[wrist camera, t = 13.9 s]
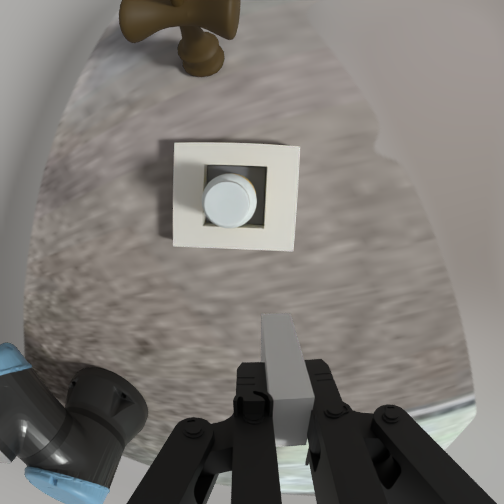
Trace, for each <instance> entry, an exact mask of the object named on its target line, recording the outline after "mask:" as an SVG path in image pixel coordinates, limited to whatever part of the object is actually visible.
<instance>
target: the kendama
mask: <svg viewBox="0 0 504 504" xmlns="http://www.w3.org/2000/svg"><path fill="white" fill-rule="evenodd" d="M239 15H240V0H122V2H121V4H120V10H119V24H120V28H121V31H122V33H123V35H124V36H125V38H126V39H127V40H128V41H129V42H131V43H136V42H139V41H142V40H144V39H146V38H147V37H149V36H151V35H152V34H154V33H156V32H157V31H159V30H162V29H165V28H169V27H176V26H180V30H181V34H182V39H181V40H180V42H179V45H178V55H179V56H180V58H181V59H182V60H183V67H184V69H185V71H186V72H187V73H189V74H191V75H192V76H197V77H205V76H211V75H213V74H215V73H217V72H218V71H219V70H220V68H221V67H222V65H223V62H224V51H223V50H222V48H221V47H220V46H219V42H218V39H217V38H216V36H215V35H213V34H211V33H209V32H204V31H203V30H202V29H201V28H200V27H202V28H204V29H207V30H209V31H211V32H213V33H215V34H217V35H219V36H221V37H223V38H225V39H228V40H232V39H233V38H234V37H235V35H236V32H237V28H238V23H239Z"/></svg>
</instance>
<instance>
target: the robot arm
mask: <svg viewBox="0 0 504 504" xmlns="http://www.w3.org/2000/svg"><path fill="white" fill-rule="evenodd" d="M233 407H234V413H233V415H232V416H231V417H230V418H228V419H226V420H225V421H222V422H218V423H213V424H210V423H209V422H208V421H207V420H204V419H202V418H195V417H192V418H186V419H184V420H182V421H180V422H179V423H178V424H177V425H176V426H175V428H174V429H173V431H172V433H171V434H170V436H169V437H168V439H167V441H166V442H165V444H164V445H163V447H162V449H161V450H160V452H159V454H158V455H157V457H156V458H155V460H154V461H153V463H152V465H151V466H150V468H149V469H148V471H147V473H146V474H145V476H144V477H143V479H142V481H141V482H140V484H139V485H138V487H137V488H136V490H135V491H134V493H133V495H132V496H131V498H130V499H129V501H128V503H127V504H206V503H207V501H208V499H209V496H210V494H211V492H212V489H213V487H214V484H215V482H216V480H217V477H218V475H219V473H223V472H227V471H232V492H231V504H282V502H281V491H280V482H279V472H278V462H277V453H276V447H282V446H297V445H306V442H307V438H308V443H309V449H308V453H307V458H306V464H305V465H308V464H310V469H311V475H312V480H313V485H314V490H315V496H316V501H317V504H497V503H496V502H495V501H494V500H493V499H492V498H491V497H490V496H488V494H487V493H486V492H485V491H484V490H483V489H482V488H481V487H480V486H479V485H478V484H477V483H476V482H475V481H474V480H473V479H472V478H471V477H470V476H469V475H468V474H467V473H466V472H465V471H464V470H463V469H462V468H461V467H460V466H459V465H458V464H457V463H456V462H455V461H454V460H453V459H452V458H451V457H450V456H449V455H448V454H447V453H446V452H445V451H444V450H443V449H442V448H441V447H440V446H439V445H438V444H437V443H436V442H435V441H434V440H433V439H432V438H431V437H430V436H429V435H428V434H427V433H426V432H425V431H424V430H423V429H422V428H421V427H420V426H419V425H418V424H417V423H416V422H415V421H414V420H413V418H412V417H411V416H410V415H409V414H408V413H407V412H406V411H405V410H403V409H402V408H400V407H398V406H395V405H383V406H380V407H379V408H377V409H376V411H375V412H374V414H371V413H360V412H356V411H353V410H352V409H351V408H350V406H349V405H348V404H346V403H344V402H343V401H342V399H341V397H340V394H339V391H338V389H337V386H336V384H335V381H334V380H333V376H332V374H331V371H330V368H329V366H328V365H327V364H326V363H325V362H324V361H323V360H322V359H314V360H304V358H303V355H302V351H301V348H300V344H299V341H298V337H297V334H296V331H295V327H294V324H293V320H292V317H291V314H290V313H269V314H262V316H261V362H251V363H241V365H240V366H239V367H238V369H237V382H236V396H235V397H234V400H233ZM147 417H148V408H147V404H146V402H145V400H144V398H143V397H142V395H141V394H140V393H139V392H138V391H137V389H136V388H135V387H133V386H132V385H131V384H130V383H129V382H127V381H126V380H125V379H123V378H122V377H120V376H118V375H116V374H114V373H112V372H110V371H107V370H104V369H100V368H85V369H82V370H80V371H79V372H78V373H77V374H76V375H75V377H74V378H73V379H72V381H71V383H70V385H69V389H68V394H67V399H66V404H65V408H64V407H63V405H62V404H61V403H60V402H59V401H58V400H57V399H56V397H55V396H54V395H53V394H52V393H51V391H50V390H49V389H48V388H47V387H46V385H45V384H44V383H43V382H42V380H41V379H40V378H39V376H38V375H37V374H36V372H35V371H34V370H33V368H32V365H31V364H29V363H28V362H27V360H26V359H25V358H24V357H23V355H22V354H21V353H20V351H19V350H18V349H17V347H15V346H14V345H13V344H11V343H3V344H1V345H0V463H8V464H10V463H11V462H12V461H13V460H14V459H15V457H16V456H18V457H19V458H20V459H21V460H22V461H23V462H24V463H25V464H26V465H27V467H26V468H25V477H26V478H27V479H28V480H29V482H30V483H31V484H33V485H34V486H35V487H36V488H38V489H39V490H41V491H42V492H44V493H45V494H47V495H49V496H51V497H52V498H54V499H56V500H58V501H61V502H63V503H65V504H103V502H104V500H105V498H106V496H107V494H108V493H109V492H110V490H109V488H110V486H111V483H112V480H113V478H114V475H115V472H116V469H117V467H118V464H119V461H120V459H121V456H122V453H123V451H124V448H125V446H126V445H127V444H128V443H129V442H130V441H131V440H132V439H133V438H134V437H135V436H136V435H137V434H138V433H139V432H140V431H141V430H142V429H143V427H144V425H145V423H146V420H147Z"/></svg>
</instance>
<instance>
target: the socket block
mask: <svg viewBox="0 0 504 504" xmlns="http://www.w3.org/2000/svg"><path fill="white" fill-rule="evenodd" d="M299 158H300V147H299V146H286V145H271V144H252V143H214V142H190V143H175V145H174V172H173V246H178V247H202V248H226V249H250V250H274V251H293V249H294V237H295V223H296V209H297V194H298V177H299ZM207 165H233V166H208V174H207ZM240 166H259V167H240ZM263 167H266V168H263ZM265 170H266V185H265ZM222 174H240V175H242V176H244V177H246V178H247V179H248V180H249V181H250V182H251V183H252V184H253V186H254V188H255V191H256V197H257V204H256V209H255V212H254V214H253V216H252V217H251V218H250V219H249V220H248V221H247V222H246V223H245V224H243V225H241V226H239V227H236V228H223V227H219V226H217V225H215V224H214V223H206V222H211V221H210V220H209V219H208V218H207V216H206V215H205V213H204V211H203V207H202V195H203V191H204V189H205V187H206V186H207V184H208V183H209V182H210V181H211V180H212V179H214V178H215V177H217V176H219V175H222ZM264 190H265V204H264ZM263 210H264V224H263ZM257 224H263V225H257Z"/></svg>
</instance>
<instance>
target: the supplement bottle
mask: <svg viewBox="0 0 504 504" xmlns="http://www.w3.org/2000/svg"><path fill="white" fill-rule="evenodd" d="M256 204H257V197H256V191H255V188H254V186H253V184H252V183H251V182H250V181H249V180H248V179H247V178H246V177H244V176H242V175H240V174H222V175H219V176H217V177H215V178H214V179H212V180H211V181H210V182H209V183H208V184H207V186H206V187H205V189H204V191H203V195H202V207H203V211H204V213H205V215H206V216H207V218H208V219H209V220H210V221H211V222H212V223H214V224H215V225H217V226H219V227H223V228H236V227H239V226H241V225H243V224H245V223H246V222H247V221H248V220H249V219H250V218H251V217H252V216H253V214H254V212H255V209H256Z"/></svg>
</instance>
